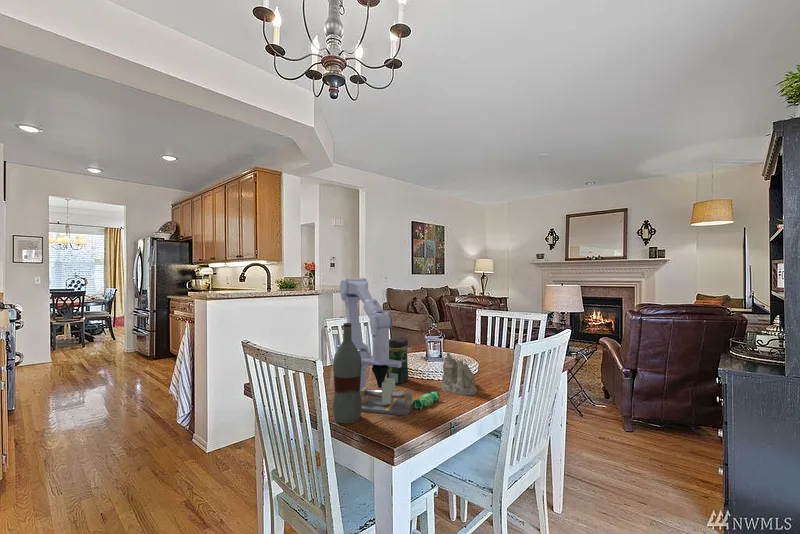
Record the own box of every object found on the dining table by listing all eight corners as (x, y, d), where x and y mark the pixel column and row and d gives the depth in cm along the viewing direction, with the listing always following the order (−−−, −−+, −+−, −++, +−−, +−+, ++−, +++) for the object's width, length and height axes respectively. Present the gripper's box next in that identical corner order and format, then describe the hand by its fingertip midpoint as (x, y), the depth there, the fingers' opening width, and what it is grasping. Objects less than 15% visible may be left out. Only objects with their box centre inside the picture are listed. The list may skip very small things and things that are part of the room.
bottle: (356, 425, 114) (357, 325, 115) (328, 423, 116) (328, 325, 116) (365, 414, 124) (365, 321, 124) (338, 412, 125) (338, 321, 126)
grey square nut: (381, 403, 127) (381, 382, 127) (386, 397, 133) (386, 378, 133) (390, 404, 127) (390, 383, 127) (395, 398, 133) (395, 378, 133)
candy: (423, 408, 126) (417, 397, 128) (416, 412, 128) (410, 401, 129) (441, 399, 136) (436, 388, 137) (435, 403, 138) (429, 392, 139)
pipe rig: (355, 410, 126) (355, 393, 127) (366, 399, 138) (366, 383, 138) (407, 415, 122) (407, 398, 122) (415, 403, 134) (415, 387, 134)
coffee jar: (395, 377, 167) (395, 335, 168) (410, 379, 163) (410, 336, 164) (383, 382, 159) (383, 338, 159) (399, 385, 155) (399, 340, 155)
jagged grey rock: (465, 397, 140) (465, 355, 142) (432, 388, 152) (433, 350, 154) (489, 391, 151) (489, 352, 152) (457, 383, 163) (457, 348, 164)
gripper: (356, 348, 129) (356, 388, 129) (398, 350, 125) (398, 392, 125) (363, 344, 136) (363, 383, 135) (403, 346, 132) (403, 386, 132)
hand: (380, 387), depth 131 cm, fingers closed
